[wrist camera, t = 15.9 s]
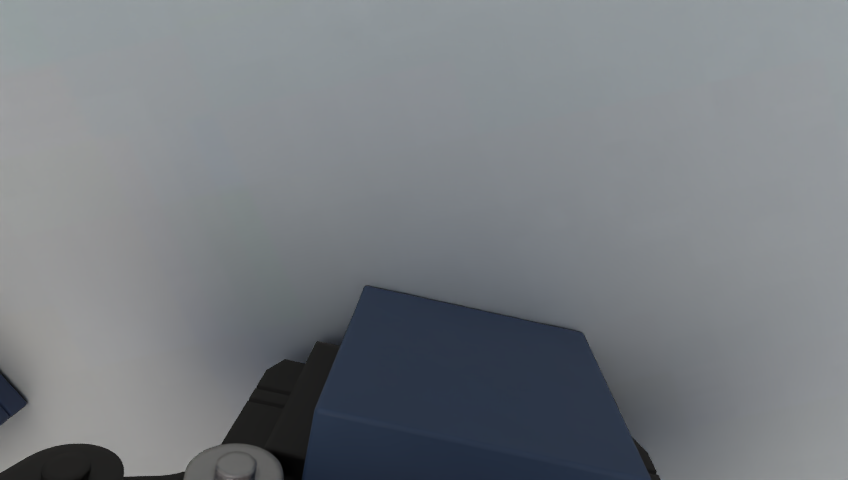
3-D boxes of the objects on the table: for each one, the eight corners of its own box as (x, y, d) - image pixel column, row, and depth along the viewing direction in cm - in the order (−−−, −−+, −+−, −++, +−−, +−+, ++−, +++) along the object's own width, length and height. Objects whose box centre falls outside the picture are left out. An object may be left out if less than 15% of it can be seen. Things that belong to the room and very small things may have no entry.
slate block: (327, 469, 13) (266, 664, 9) (364, 284, 12) (313, 408, 8) (526, 511, 13) (560, 726, 9) (583, 331, 12) (655, 482, 8)
